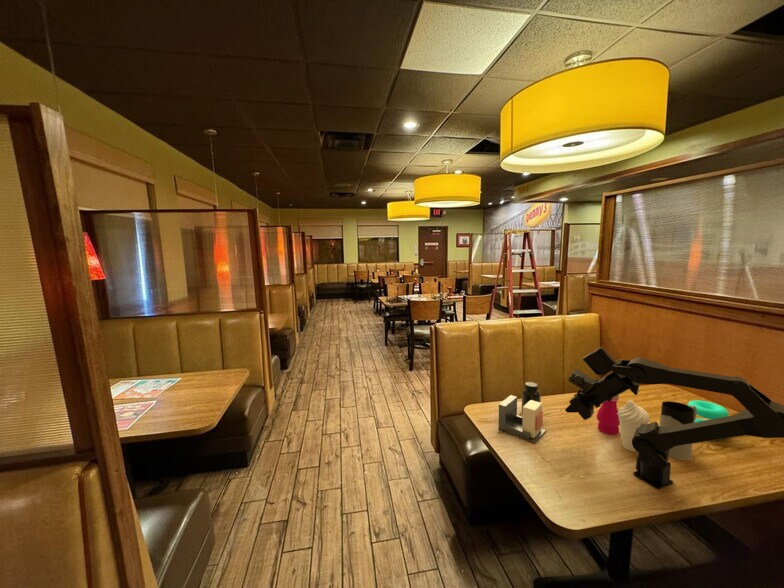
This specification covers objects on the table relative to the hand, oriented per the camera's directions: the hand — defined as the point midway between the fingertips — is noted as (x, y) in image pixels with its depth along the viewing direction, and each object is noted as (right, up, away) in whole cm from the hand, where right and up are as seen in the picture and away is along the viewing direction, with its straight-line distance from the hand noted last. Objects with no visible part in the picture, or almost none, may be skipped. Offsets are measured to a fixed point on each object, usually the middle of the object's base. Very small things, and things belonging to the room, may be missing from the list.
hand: (566, 410), depth 102 cm
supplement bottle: (-1, -10, +24) cm, 26 cm away
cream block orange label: (-7, -11, +9) cm, 15 cm away
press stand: (-10, -12, +11) cm, 19 cm away
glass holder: (+35, -12, -2) cm, 37 cm away
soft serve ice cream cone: (+21, -12, 0) cm, 24 cm away
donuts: (+52, -11, +7) cm, 54 cm away
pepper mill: (+21, -11, +10) cm, 26 cm away
